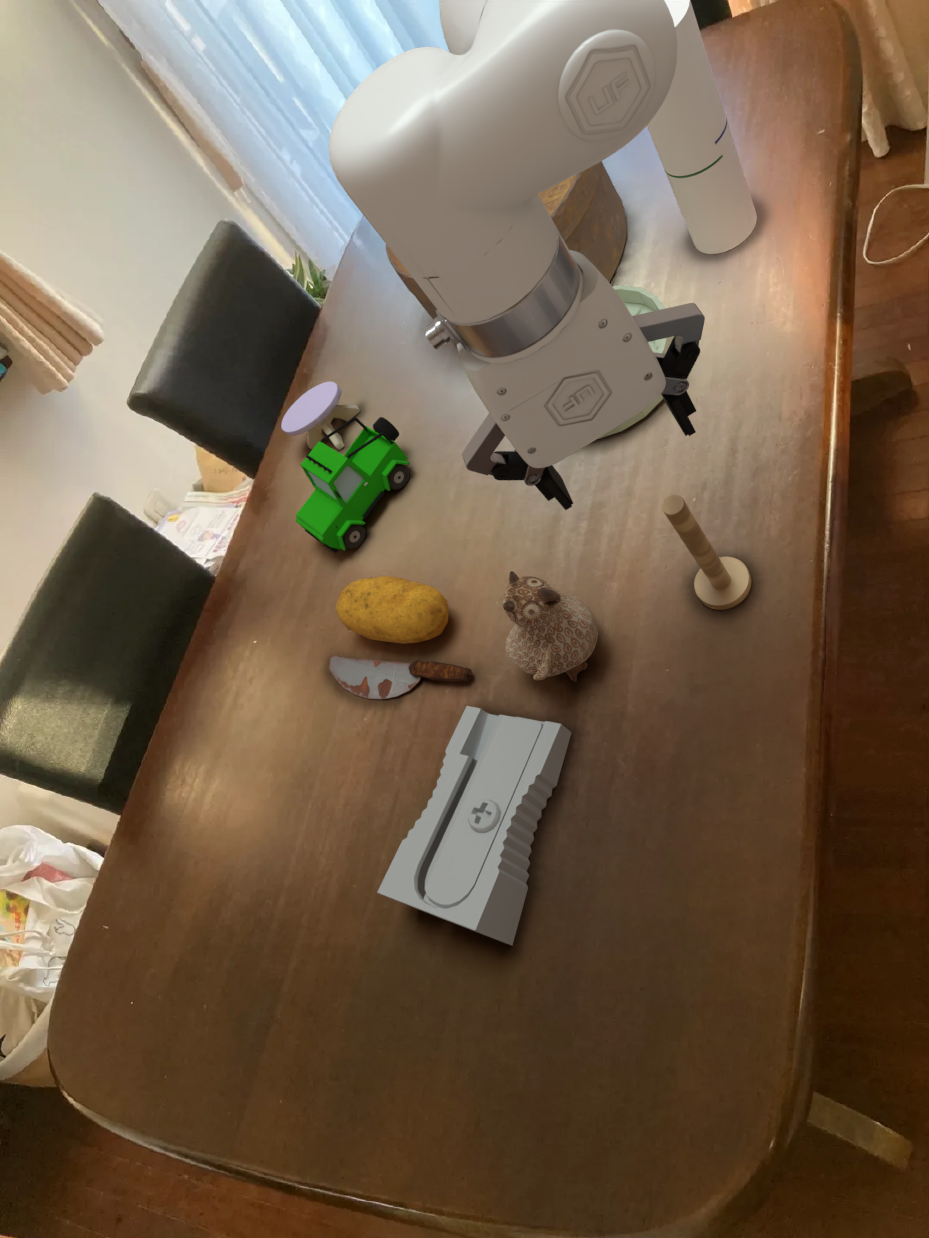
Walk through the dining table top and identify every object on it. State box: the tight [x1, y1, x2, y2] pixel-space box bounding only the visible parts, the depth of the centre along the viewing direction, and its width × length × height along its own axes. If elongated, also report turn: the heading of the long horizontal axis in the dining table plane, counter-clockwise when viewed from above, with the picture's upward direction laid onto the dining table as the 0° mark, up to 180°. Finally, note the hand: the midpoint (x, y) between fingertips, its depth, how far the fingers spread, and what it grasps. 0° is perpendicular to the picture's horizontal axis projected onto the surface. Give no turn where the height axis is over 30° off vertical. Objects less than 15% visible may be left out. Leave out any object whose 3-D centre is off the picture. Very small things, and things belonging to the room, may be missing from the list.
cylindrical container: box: [646, 0, 758, 255], centre depth 84 cm, size 7×7×25 cm
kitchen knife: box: [328, 654, 474, 700], centre depth 92 cm, size 21×2×5 cm
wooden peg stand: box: [661, 494, 753, 611], centre depth 70 cm, size 5×5×15 cm
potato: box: [335, 575, 450, 645], centre depth 92 cm, size 7×14×7 cm, turn 68°
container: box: [385, 161, 628, 348], centre depth 103 cm, size 28×28×15 cm
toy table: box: [280, 381, 361, 451], centre depth 114 cm, size 10×9×6 cm
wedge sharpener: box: [376, 705, 572, 947], centre depth 76 cm, size 11×20×7 cm, turn 159°
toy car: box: [295, 416, 410, 554], centre depth 103 cm, size 8×17×10 cm, turn 136°
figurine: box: [502, 570, 599, 683], centre depth 76 cm, size 9×10×15 cm
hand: (622, 458), depth 59 cm, fingers open, 9 cm apart
